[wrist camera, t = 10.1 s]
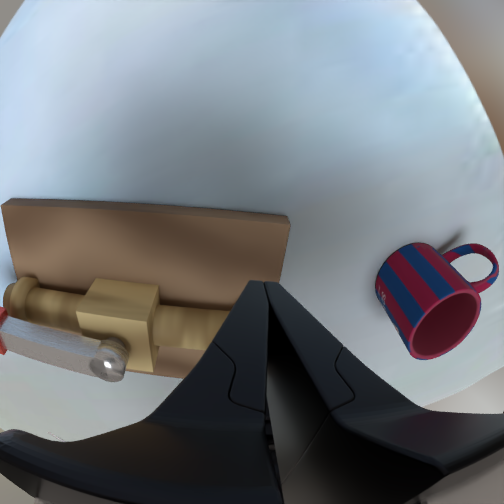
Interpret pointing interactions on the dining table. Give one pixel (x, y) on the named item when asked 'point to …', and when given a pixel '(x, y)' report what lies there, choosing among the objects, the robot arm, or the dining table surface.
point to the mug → (431, 297)
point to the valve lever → (63, 348)
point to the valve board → (137, 272)
